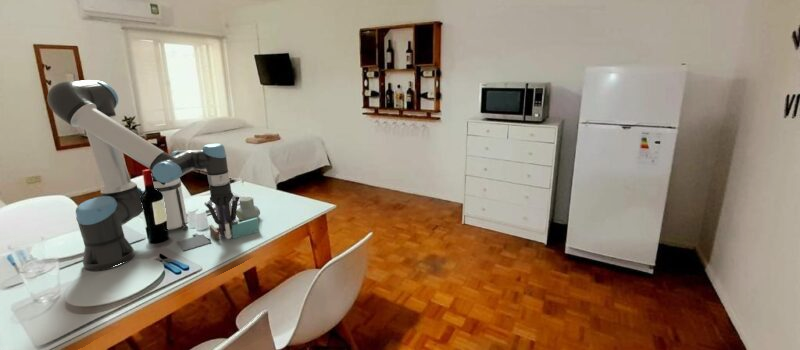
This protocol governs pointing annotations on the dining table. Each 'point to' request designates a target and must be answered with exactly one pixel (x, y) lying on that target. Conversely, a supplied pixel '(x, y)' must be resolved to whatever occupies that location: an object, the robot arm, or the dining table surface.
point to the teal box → (244, 227)
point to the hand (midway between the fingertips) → (228, 237)
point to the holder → (215, 231)
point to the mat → (193, 242)
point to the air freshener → (247, 209)
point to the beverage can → (224, 219)
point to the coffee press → (173, 203)
